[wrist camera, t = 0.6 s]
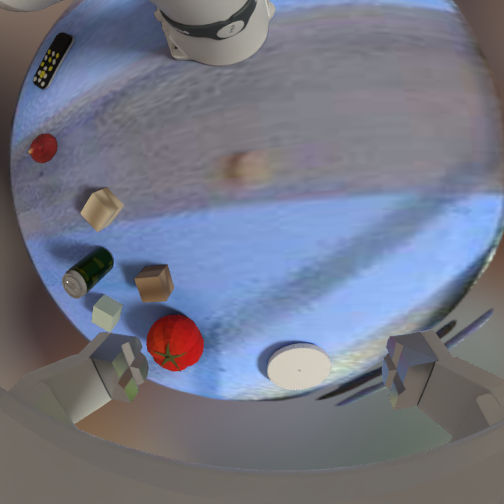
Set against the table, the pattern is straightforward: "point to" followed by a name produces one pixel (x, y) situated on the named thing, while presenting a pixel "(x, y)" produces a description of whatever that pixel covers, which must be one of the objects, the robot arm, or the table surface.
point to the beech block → (101, 209)
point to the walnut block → (154, 283)
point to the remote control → (53, 60)
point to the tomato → (175, 342)
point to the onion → (43, 148)
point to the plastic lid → (298, 366)
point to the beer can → (87, 272)
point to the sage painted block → (106, 313)
